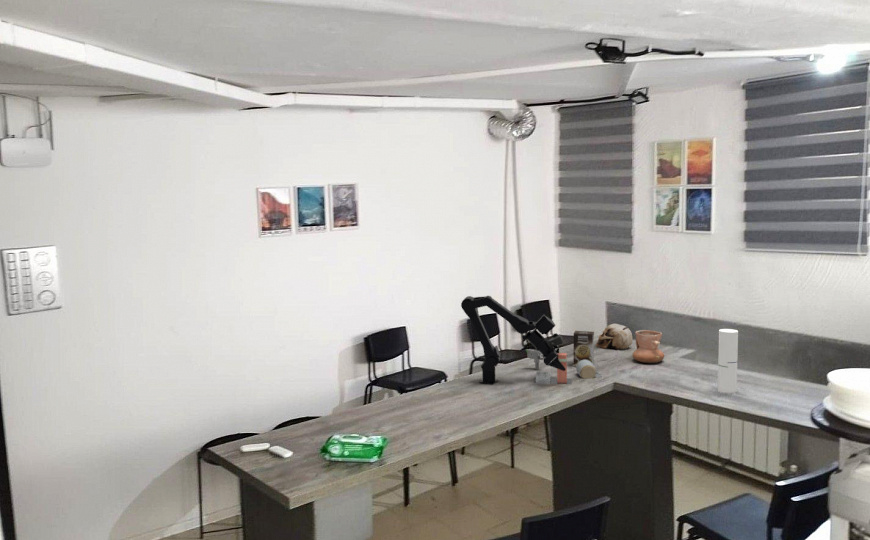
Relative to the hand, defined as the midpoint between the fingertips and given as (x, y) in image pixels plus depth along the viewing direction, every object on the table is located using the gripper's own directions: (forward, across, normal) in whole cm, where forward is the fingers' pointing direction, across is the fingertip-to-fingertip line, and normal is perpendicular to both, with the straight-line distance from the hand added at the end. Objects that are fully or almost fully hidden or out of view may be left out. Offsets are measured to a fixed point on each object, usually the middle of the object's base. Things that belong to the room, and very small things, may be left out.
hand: (565, 367), depth 304 cm
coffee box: (+11, +32, 0) cm, 34 cm away
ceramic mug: (+13, +10, -2) cm, 17 cm away
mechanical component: (-4, +19, +15) cm, 24 cm away
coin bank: (+22, +70, -11) cm, 74 cm away
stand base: (+1, 0, +9) cm, 9 cm away
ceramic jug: (+32, +43, -21) cm, 58 cm away
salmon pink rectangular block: (+3, 0, +5) cm, 6 cm away
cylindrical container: (+52, -3, -40) cm, 66 cm away
